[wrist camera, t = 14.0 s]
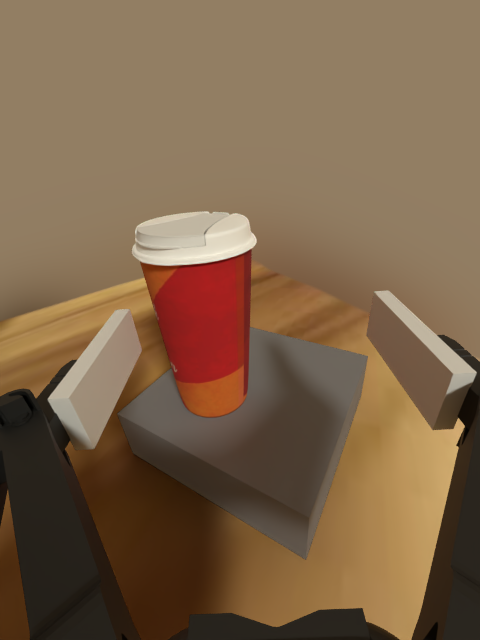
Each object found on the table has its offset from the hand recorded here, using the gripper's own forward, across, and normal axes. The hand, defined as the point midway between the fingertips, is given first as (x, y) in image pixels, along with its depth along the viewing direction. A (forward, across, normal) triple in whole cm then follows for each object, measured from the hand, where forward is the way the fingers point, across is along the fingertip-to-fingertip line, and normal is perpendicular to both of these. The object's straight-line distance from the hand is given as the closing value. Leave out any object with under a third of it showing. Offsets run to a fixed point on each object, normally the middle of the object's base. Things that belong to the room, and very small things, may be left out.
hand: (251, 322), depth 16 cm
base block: (+6, 0, -14) cm, 15 cm away
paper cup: (+4, -4, -10) cm, 11 cm away
